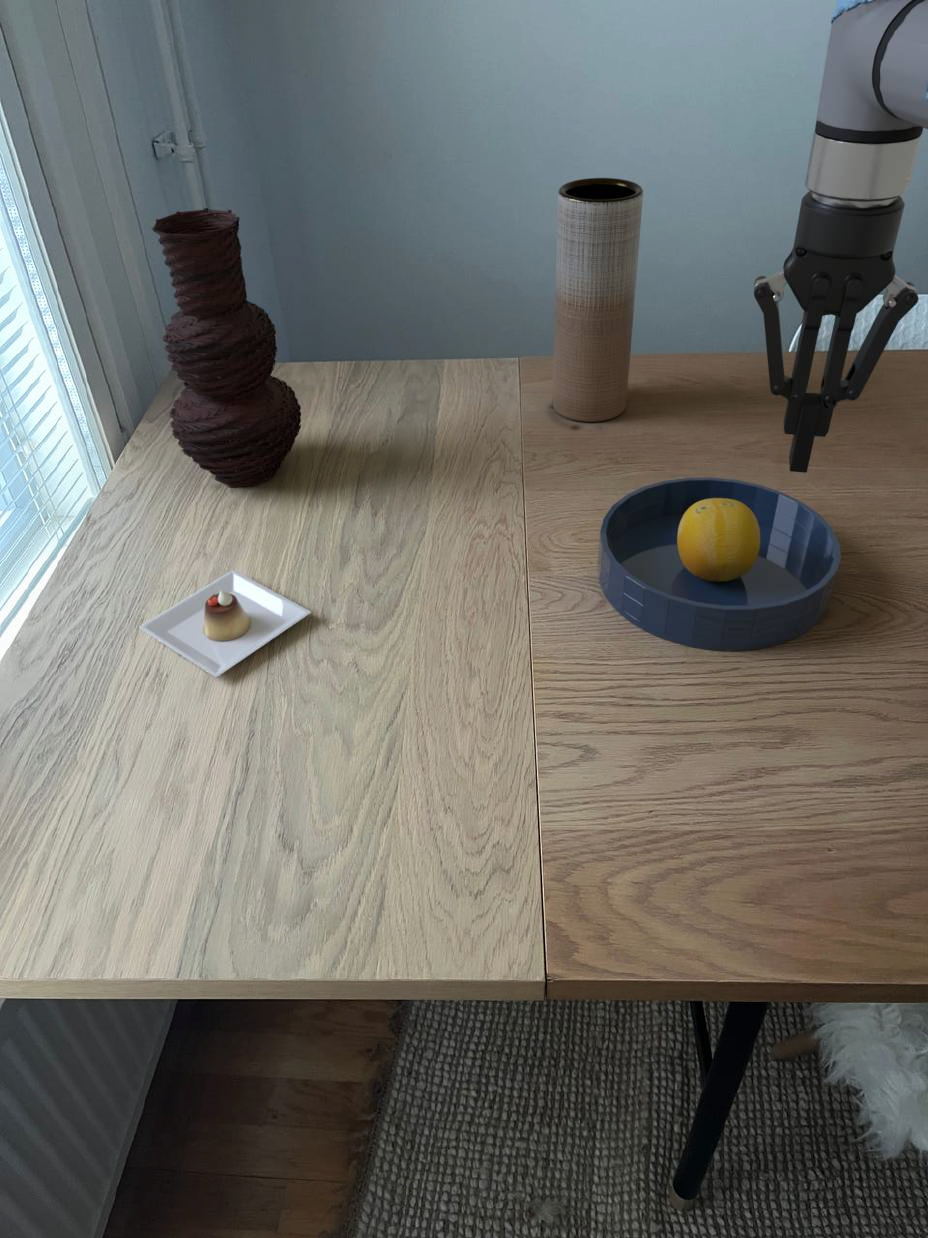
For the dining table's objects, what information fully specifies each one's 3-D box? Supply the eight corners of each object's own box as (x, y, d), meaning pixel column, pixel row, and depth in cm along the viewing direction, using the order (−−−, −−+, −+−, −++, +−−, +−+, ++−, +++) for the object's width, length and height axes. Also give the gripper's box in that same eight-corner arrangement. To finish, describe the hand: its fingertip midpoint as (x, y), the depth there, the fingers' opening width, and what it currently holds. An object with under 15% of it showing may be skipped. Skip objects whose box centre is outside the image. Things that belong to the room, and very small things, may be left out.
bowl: (825, 528, 104) (834, 488, 101) (835, 666, 86) (847, 624, 83) (613, 506, 109) (616, 468, 106) (582, 633, 91) (584, 592, 88)
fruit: (660, 552, 100) (667, 487, 95) (732, 542, 101) (743, 477, 96) (691, 603, 93) (701, 535, 88) (768, 591, 94) (782, 523, 89)
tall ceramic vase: (594, 383, 134) (605, 172, 116) (641, 409, 127) (661, 189, 110) (537, 403, 130) (541, 187, 112) (583, 430, 123) (594, 205, 106)
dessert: (140, 635, 94) (128, 597, 90) (235, 577, 101) (226, 540, 98) (218, 686, 87) (207, 646, 84) (313, 620, 94) (306, 582, 91)
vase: (176, 509, 112) (106, 248, 93) (193, 446, 124) (134, 204, 105) (307, 498, 112) (264, 238, 94) (311, 437, 124) (274, 195, 105)
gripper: (938, 182, 74) (869, 451, 89) (765, 178, 77) (726, 439, 92) (953, 210, 68) (876, 492, 83) (766, 204, 71) (723, 478, 86)
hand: (797, 464), depth 87 cm, fingers closed
